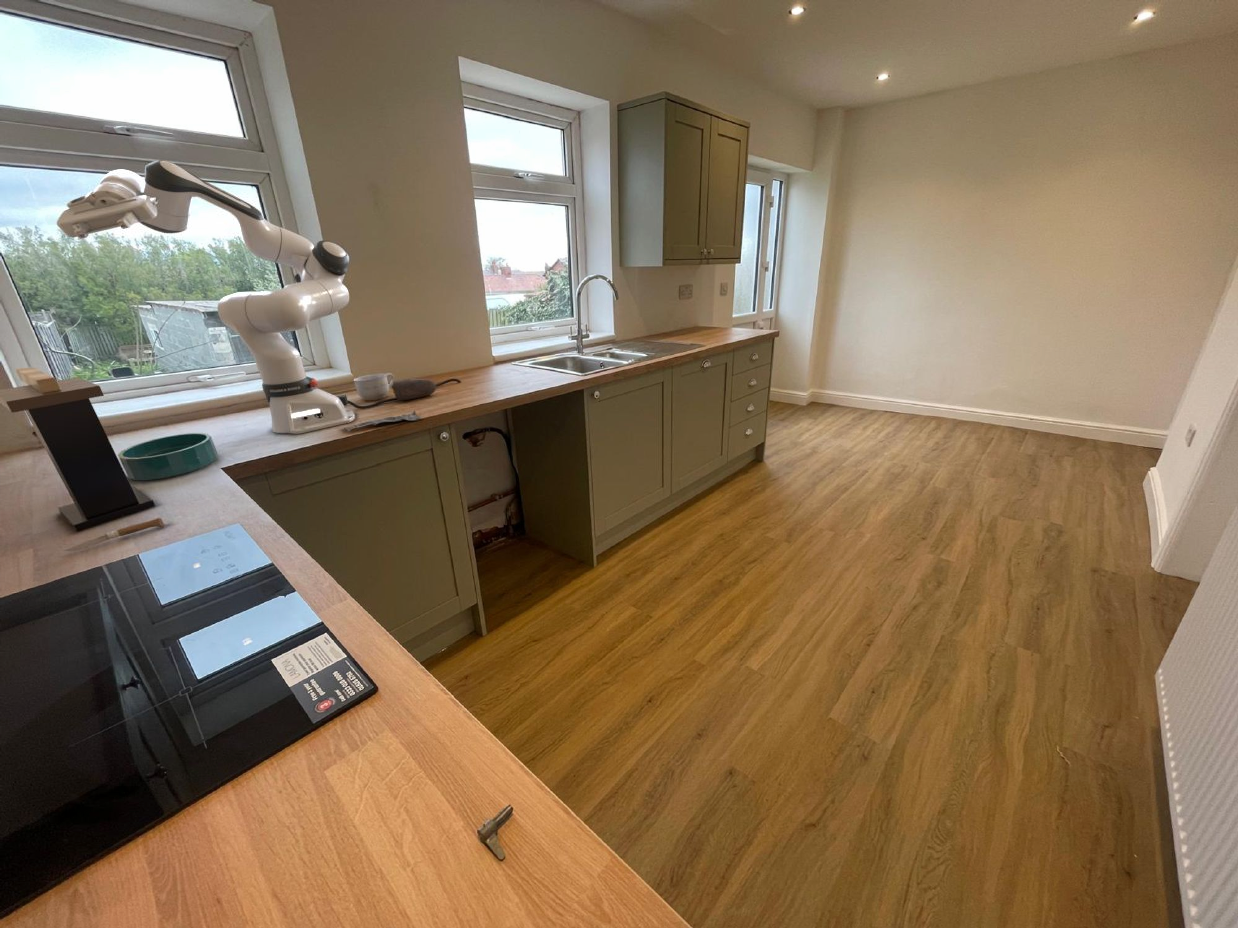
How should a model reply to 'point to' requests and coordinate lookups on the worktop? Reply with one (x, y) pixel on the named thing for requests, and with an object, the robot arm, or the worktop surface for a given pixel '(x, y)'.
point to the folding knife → (118, 534)
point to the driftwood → (387, 420)
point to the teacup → (373, 386)
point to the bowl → (168, 456)
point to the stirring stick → (38, 379)
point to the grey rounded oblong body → (413, 388)
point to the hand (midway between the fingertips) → (101, 230)
